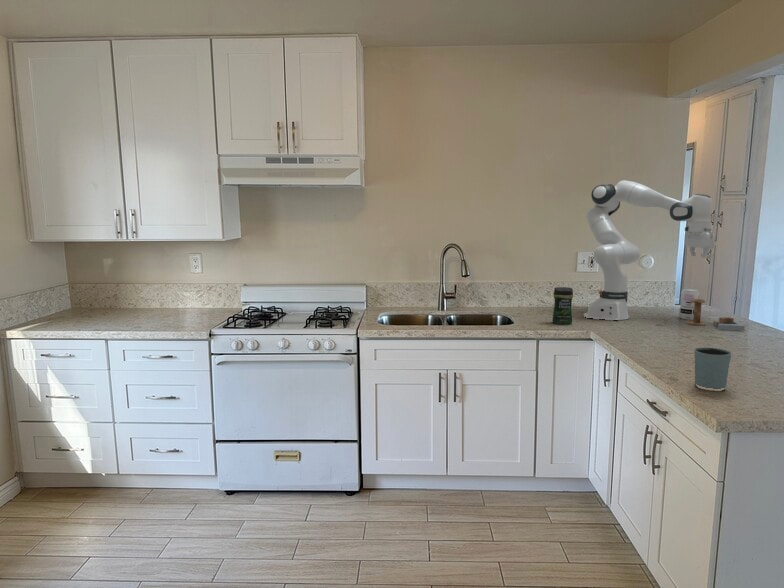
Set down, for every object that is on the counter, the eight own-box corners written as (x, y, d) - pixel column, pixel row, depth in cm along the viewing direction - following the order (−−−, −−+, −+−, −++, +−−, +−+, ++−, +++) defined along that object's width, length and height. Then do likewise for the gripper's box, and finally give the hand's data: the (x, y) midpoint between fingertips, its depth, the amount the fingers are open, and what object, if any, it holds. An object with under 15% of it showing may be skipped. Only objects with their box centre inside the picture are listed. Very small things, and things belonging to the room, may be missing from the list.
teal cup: (694, 390, 170) (697, 353, 168) (689, 381, 179) (692, 345, 177) (731, 393, 166) (734, 356, 164) (724, 383, 175) (727, 348, 174)
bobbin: (690, 325, 263) (691, 301, 261) (687, 322, 269) (688, 298, 268) (706, 325, 261) (708, 301, 259) (703, 322, 267) (704, 299, 265)
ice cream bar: (714, 328, 255) (715, 318, 254) (711, 327, 258) (712, 317, 257) (732, 328, 253) (733, 318, 253) (730, 327, 256) (730, 317, 256)
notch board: (719, 330, 251) (719, 324, 251) (713, 325, 261) (713, 320, 261) (744, 331, 248) (744, 325, 248) (737, 326, 258) (737, 321, 258)
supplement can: (693, 317, 282) (694, 288, 280) (700, 320, 274) (702, 291, 272) (676, 317, 283) (678, 288, 281) (683, 320, 275) (685, 291, 273)
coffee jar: (553, 324, 270) (554, 288, 267) (551, 321, 278) (552, 286, 275) (573, 325, 268) (574, 288, 266) (571, 322, 276) (572, 286, 273)
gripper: (719, 228, 249) (717, 258, 251) (695, 227, 269) (693, 255, 271) (705, 228, 249) (703, 258, 251) (682, 227, 269) (681, 255, 271)
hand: (698, 256), depth 261 cm, fingers open, 8 cm apart
